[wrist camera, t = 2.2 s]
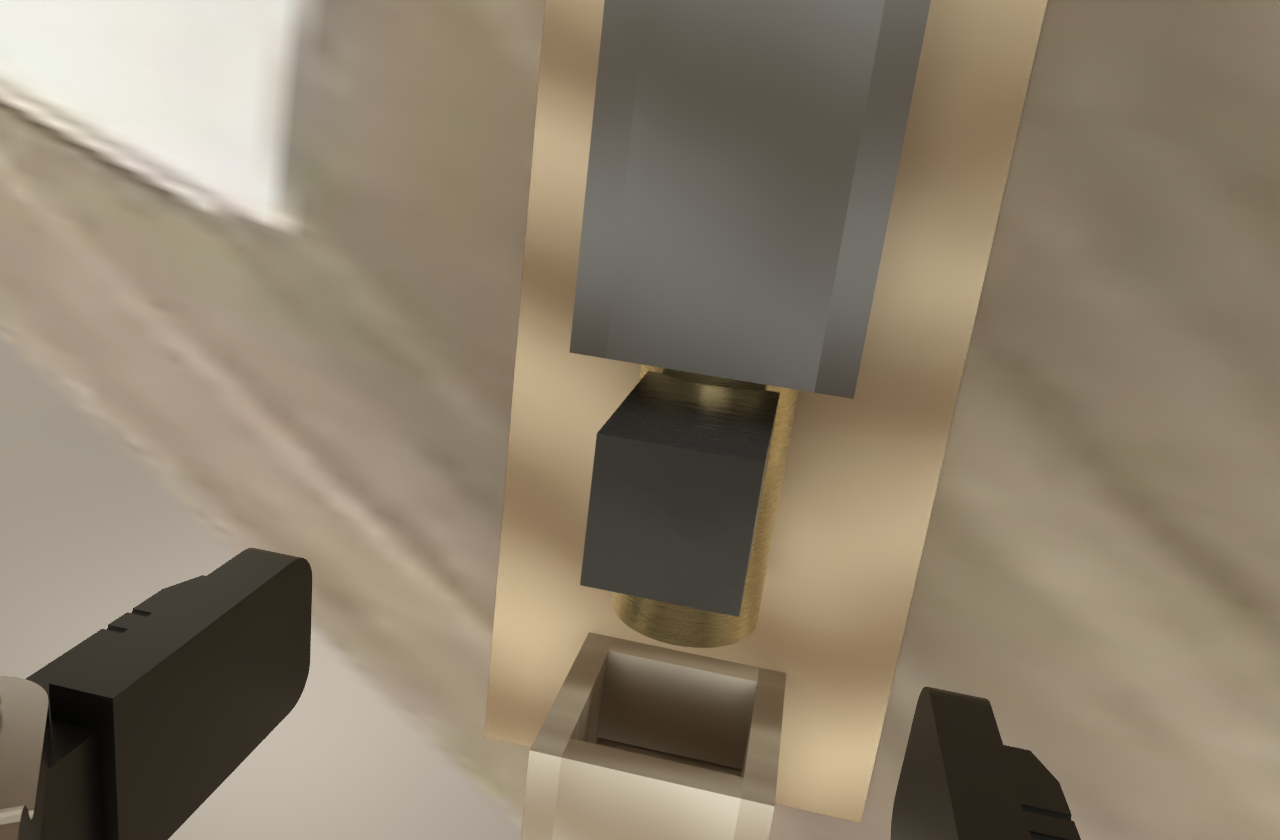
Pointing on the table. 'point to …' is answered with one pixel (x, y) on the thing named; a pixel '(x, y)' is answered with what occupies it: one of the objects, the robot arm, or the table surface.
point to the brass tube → (687, 504)
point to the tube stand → (743, 376)
